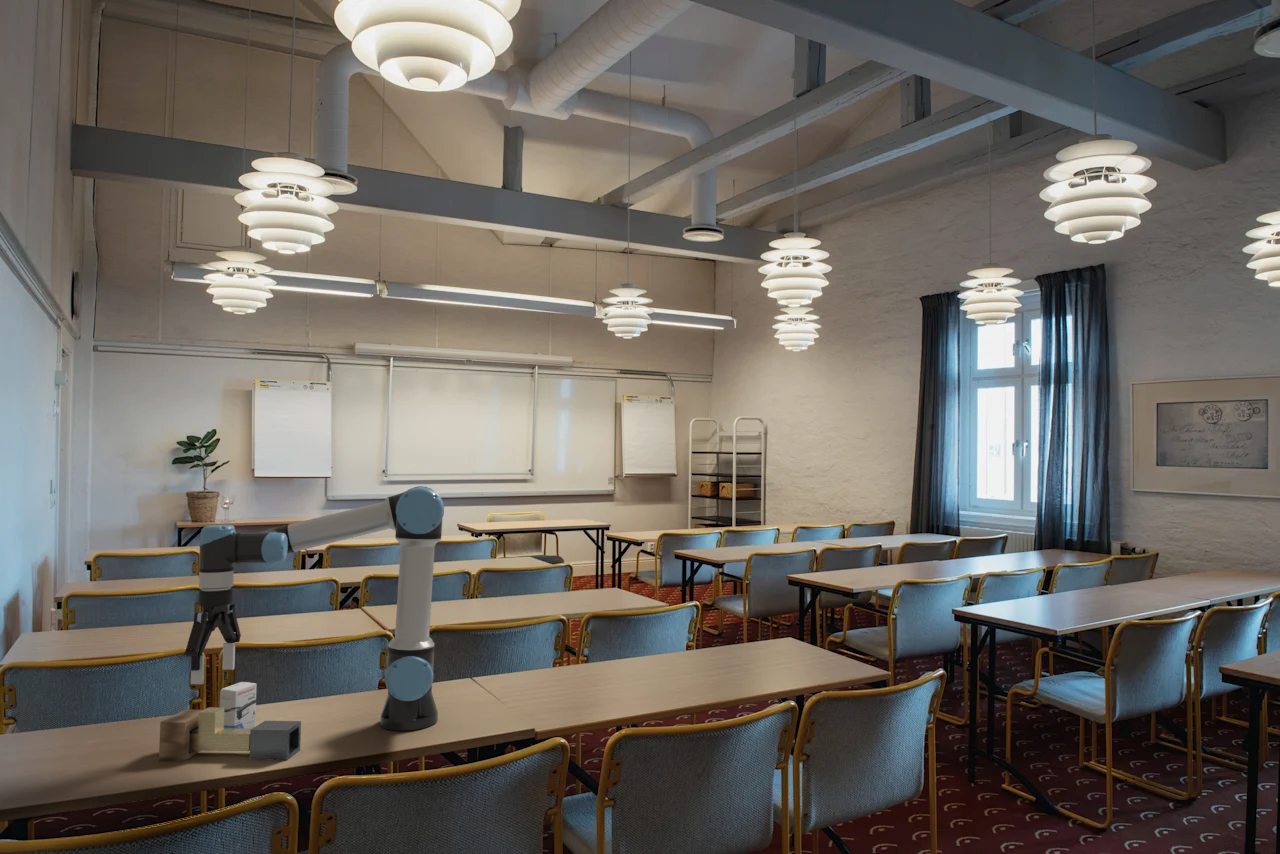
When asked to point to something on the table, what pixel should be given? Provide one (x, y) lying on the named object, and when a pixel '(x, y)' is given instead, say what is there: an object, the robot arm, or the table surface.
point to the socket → (177, 736)
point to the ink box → (239, 705)
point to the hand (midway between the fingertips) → (213, 676)
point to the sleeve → (275, 740)
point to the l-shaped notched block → (217, 733)
